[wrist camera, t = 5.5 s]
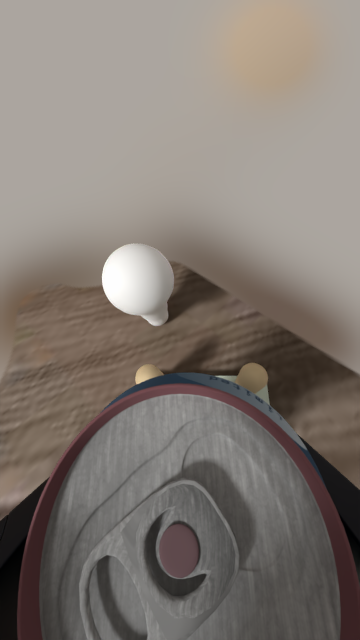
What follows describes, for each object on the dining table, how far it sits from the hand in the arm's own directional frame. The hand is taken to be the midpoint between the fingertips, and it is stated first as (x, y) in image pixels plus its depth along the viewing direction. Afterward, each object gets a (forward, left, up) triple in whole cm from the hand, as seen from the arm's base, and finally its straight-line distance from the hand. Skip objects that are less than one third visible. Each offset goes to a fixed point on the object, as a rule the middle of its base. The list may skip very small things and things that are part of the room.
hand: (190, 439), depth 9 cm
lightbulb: (+12, +5, -13) cm, 18 cm away
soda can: (-1, 0, -7) cm, 7 cm away
